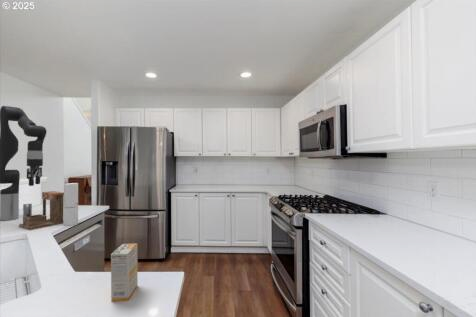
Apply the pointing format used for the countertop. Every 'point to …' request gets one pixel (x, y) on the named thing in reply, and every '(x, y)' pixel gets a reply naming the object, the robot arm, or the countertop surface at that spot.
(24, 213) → the steel peg
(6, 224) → the countertop surface
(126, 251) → the supplement box
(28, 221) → the wooden frame stand
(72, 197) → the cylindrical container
